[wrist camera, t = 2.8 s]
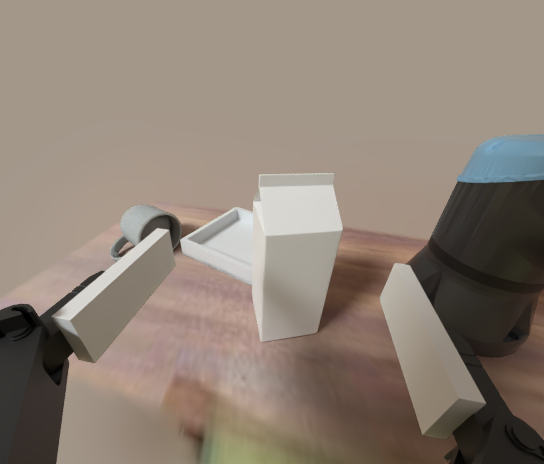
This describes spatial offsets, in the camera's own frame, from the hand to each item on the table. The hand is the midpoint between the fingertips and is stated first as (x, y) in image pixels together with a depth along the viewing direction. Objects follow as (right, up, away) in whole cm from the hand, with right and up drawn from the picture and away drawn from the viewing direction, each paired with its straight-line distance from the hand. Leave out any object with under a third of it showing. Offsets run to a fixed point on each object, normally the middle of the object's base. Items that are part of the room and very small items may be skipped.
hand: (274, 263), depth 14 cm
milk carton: (+1, -9, +17) cm, 19 cm away
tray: (-5, -1, +30) cm, 30 cm away
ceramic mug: (-22, -1, +28) cm, 35 cm away
